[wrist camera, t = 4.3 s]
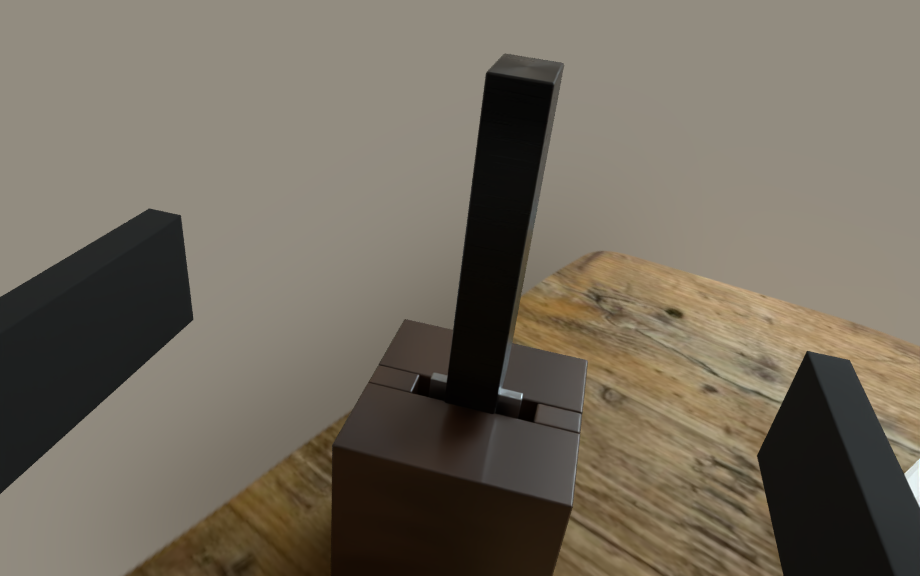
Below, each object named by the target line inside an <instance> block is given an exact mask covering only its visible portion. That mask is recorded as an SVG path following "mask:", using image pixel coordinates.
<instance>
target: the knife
mask: <svg viewBox="0 0 920 576" xmlns="http://www.w3.org/2000/svg"><path fill="white" fill-rule="evenodd" d="M563 68H564V64H563V63H560V62H554V61H548V60H541V59H535V58H529V57H522V56H517V55H511V54H503V56H502V57H501V58H500V59H499V60H498V61H497V62H496V63H495V64H494V65H493V66H492V67H491V68H490V69H489V70H488V71H487V73H486V77H485V85H484V93H483V100H482V108H481V116H480V124H479V132H478V140H477V148H476V155H475V164H474V172H473V179H472V187H471V195H470V202H469V211H468V219H467V227H466V234H465V242H464V250H463V257H462V265H461V273H460V281H459V289H458V296H457V305H456V312H455V320H454V328H453V336H452V343H451V351H450V359H449V367H448V375H443V374H438V373H433V374H432V377H431V381H430V390H429V398H433V399H437V400H442V401H444V402H445V403H448V404H452V405H456V406H460V407H464V408H468V409H472V410H477V411H481V412H485V413H489V414H494V413H495V414H499V415H503V416H508V417H512V418H516V419H518V416H519V411H520V407H521V402H522V397H523V394H522V393H519V392H514V391H510V390H506V389H502V386H503V382H504V379H505V375H506V372H507V368H508V362H509V357H510V352H511V346H512V341H513V335H514V330H515V325H516V319H517V314H518V309H519V303H520V298H521V292H522V287H523V282H524V277H525V271H526V265H527V260H528V255H529V250H530V244H531V239H532V234H533V228H534V223H535V218H536V212H537V206H538V201H539V196H540V190H541V185H542V180H543V174H544V169H545V164H546V159H547V153H548V148H549V143H550V137H551V132H552V126H553V121H554V116H555V111H556V105H557V100H558V95H559V89H560V84H561V78H562V73H563Z"/></svg>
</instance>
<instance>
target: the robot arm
mask: <svg viewBox="0 0 920 576" xmlns="http://www.w3.org/2000/svg"><path fill="white" fill-rule="evenodd" d="M192 320H193V312H192V305H191V295H190V287H189V279H188V271H187V262H186V255H185V246H184V238H183V230H182V222H181V215H177V214H172V213H168V212H163V211H158V210H153V209H148V210H146V211H144V212H143V213H141V214H139V215H138V216H136V217H134V218H133V219H131V220H129V221H128V222H126V223H124V224H123V225H121V226H119V227H118V228H116V229H114V230H112V231H111V232H109V233H107V234H106V235H104V236H102V237H101V238H99V239H97V240H96V241H94V242H92V243H91V244H89V245H87V246H86V247H84V248H83V249H80V250H79V251H77V252H75V253H74V254H72V255H71V256H69V257H67V258H65V259H64V260H62V261H60V262H59V263H57V264H55V265H54V266H52V267H50V268H49V269H47V270H45V271H43V272H42V273H40V274H39V275H37V276H35V277H33V278H32V279H30V280H29V281H27V282H25V283H23V284H22V285H20V286H18V287H17V288H15V289H13V290H12V291H10V292H8V293H7V294H5V295H3V296H1V297H0V494H1V493H2V492H3V491H4V490H5V489H6V488H7V487H8V486H9V485H10V484H12V483H13V482H14V481H15V480H16V479H17V478H18V477H19V476H21V475H22V474H23V473H24V472H25V471H26V470H27V469H28V468H29V467H30V466H32V465H33V464H34V463H35V462H36V461H37V460H38V459H39V458H41V457H42V456H43V455H44V454H45V453H46V452H47V451H48V450H49V449H51V448H52V447H53V446H54V445H55V444H56V443H57V442H58V441H59V440H60V439H62V438H63V437H64V436H65V435H66V434H67V433H68V432H69V431H70V430H72V429H73V428H74V427H75V426H76V425H77V424H78V423H79V422H80V421H82V419H84V418H85V417H86V416H87V415H88V414H89V413H90V412H91V411H93V410H94V409H95V408H96V407H97V406H98V405H99V404H100V403H101V402H103V401H104V400H105V399H106V398H107V397H108V396H109V395H110V394H111V393H113V392H114V391H115V390H116V389H117V388H118V387H119V386H120V385H121V384H123V383H124V382H125V381H126V380H127V379H128V378H129V377H130V376H131V375H132V374H133V373H135V372H136V371H137V370H138V369H139V368H140V367H141V366H142V365H144V364H145V363H146V362H147V361H148V360H149V359H150V358H151V357H152V356H153V355H155V354H156V353H157V352H158V351H159V350H160V349H161V348H162V347H164V346H165V345H166V344H167V343H168V342H169V341H170V340H171V339H172V338H174V337H175V336H176V335H177V334H178V333H179V332H180V331H181V330H182V329H183V328H184V327H186V326H187V325H188V324H189V323H190V322H191V321H192ZM757 457H758V462H759V466H760V471H761V476H762V480H763V485H764V489H765V494H766V498H767V503H768V507H769V512H770V516H771V521H772V525H773V530H774V535H775V539H776V544H777V548H778V553H779V557H780V562H781V566H782V571H783V575H784V576H920V507H919V504H918V502H917V500H916V498H915V496H914V494H913V492H912V490H911V488H910V486H909V484H908V481H907V479H906V477H905V475H904V473H903V471H902V469H901V467H900V465H899V463H898V460H897V458H896V456H895V454H894V452H893V450H892V448H891V446H890V444H889V442H888V440H887V437H886V435H885V433H884V431H883V429H882V427H881V425H880V423H879V421H878V419H877V416H876V414H875V412H874V410H873V408H872V406H871V404H870V402H869V400H868V398H867V395H866V393H865V391H864V389H863V387H862V385H861V383H860V381H859V379H858V377H857V375H856V372H855V370H854V368H853V366H852V364H851V362H850V360H847V359H842V358H837V357H833V356H828V355H824V354H819V353H814V352H810V351H807V352H806V354H805V356H804V358H803V361H802V363H801V365H800V367H799V369H798V371H797V373H796V375H795V377H794V379H793V381H792V384H791V386H790V388H789V390H788V392H787V394H786V396H785V398H784V400H783V402H782V404H781V407H780V409H779V411H778V413H777V415H776V417H775V419H774V421H773V423H772V425H771V427H770V430H769V432H768V434H767V436H766V438H765V440H764V442H763V444H762V446H761V448H760V450H759V453H758V455H757Z"/></svg>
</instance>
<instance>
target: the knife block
mask: <svg viewBox="0 0 920 576" xmlns="http://www.w3.org/2000/svg"><path fill="white" fill-rule="evenodd" d="M452 336H453V330H451V329H447V328H442V327H438V326H434V325H429V324H425V323H420V322H416V321H412V320H406V319H405V320H404V321H403V323H402V325H401V326H400V328H399V330H398V332H397V333H396V335H395V337H394V339H393V340H392V342H391V344H390V346H389V347H388V349H387V351H386V352H385V354H384V356H383V358H382V359H381V361H380V363H379V366H377V368H376V370H375V372H374V374H373V375H372V377H371V379H370V380H369V382H368V384H367V386H366V387H365V389H364V391H363V392H362V394H361V396H360V398H359V399H358V401H357V403H356V405H355V406H354V408H353V410H352V412H351V413H350V415H349V417H348V419H347V420H346V422H345V424H344V426H343V427H342V429H341V431H340V433H339V434H338V436H337V438H336V440H335V441H334V443H333V445H332V521H331V576H553V572H554V569H555V566H556V562H557V559H558V555H559V552H560V549H561V545H562V542H563V538H564V535H565V531H566V528H567V525H568V521H569V518H570V514H571V511H572V508H573V499H574V490H575V480H576V471H577V461H578V452H579V442H580V431H581V422H582V413H583V404H584V394H585V385H586V375H587V365H588V361H587V360H584V359H580V358H575V357H571V356H566V355H562V354H557V353H553V352H549V351H544V350H540V349H535V348H531V347H527V346H522V345H518V344H513V343H512V346H511V352H510V357H509V362H508V368H507V372H506V375H505V379H504V382H503V386H502V389H506V390H510V391H514V392H519V393H522V394H523V397H522V402H521V407H520V411H519V416H518V419H516V418H512V417H508V416H503V415H499V414H495V413H494V414H489V413H485V412H481V411H477V410H472V409H468V408H464V407H460V406H456V405H452V404H448V403H445V402H444V401H442V400H437V399H433V398H429V390H430V381H431V377H432V374H433V373H438V374H443V375H448V367H449V359H450V351H451V343H452Z"/></svg>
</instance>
